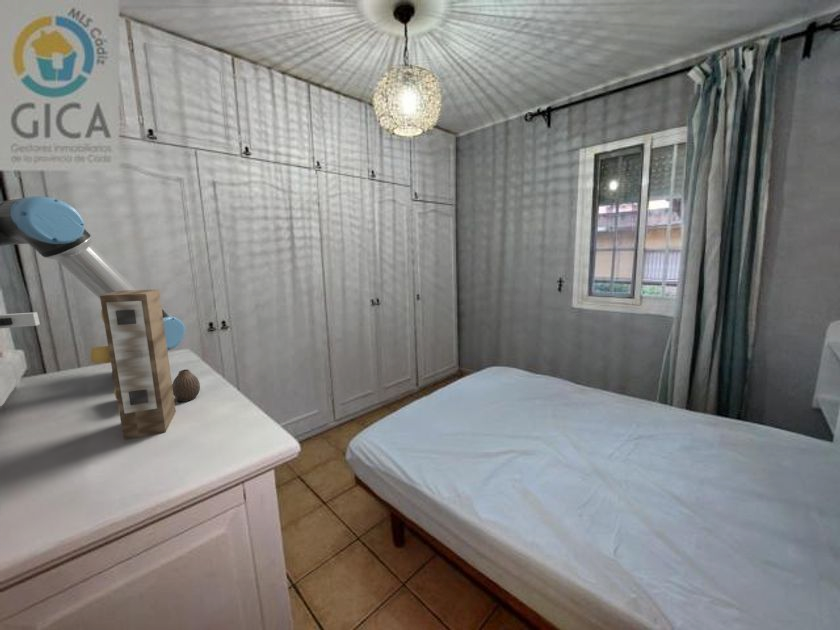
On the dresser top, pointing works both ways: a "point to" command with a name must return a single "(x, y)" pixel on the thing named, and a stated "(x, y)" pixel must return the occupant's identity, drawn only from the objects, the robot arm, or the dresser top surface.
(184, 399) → the vase
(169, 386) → the button column
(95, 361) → the button mid
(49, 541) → the dresser top surface
